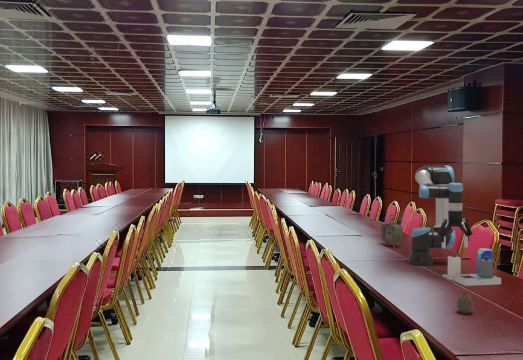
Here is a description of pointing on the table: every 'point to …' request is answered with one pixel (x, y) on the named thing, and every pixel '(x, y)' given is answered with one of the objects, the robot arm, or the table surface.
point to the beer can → (481, 254)
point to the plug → (454, 265)
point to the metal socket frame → (475, 280)
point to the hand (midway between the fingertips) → (454, 247)
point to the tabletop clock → (391, 232)
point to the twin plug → (485, 267)
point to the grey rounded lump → (464, 303)
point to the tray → (447, 276)
